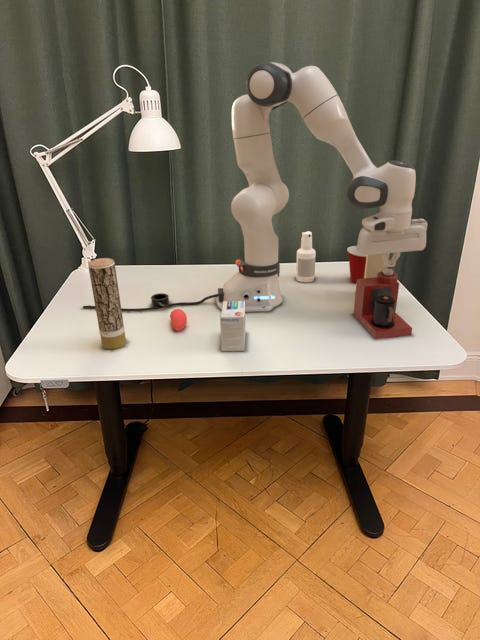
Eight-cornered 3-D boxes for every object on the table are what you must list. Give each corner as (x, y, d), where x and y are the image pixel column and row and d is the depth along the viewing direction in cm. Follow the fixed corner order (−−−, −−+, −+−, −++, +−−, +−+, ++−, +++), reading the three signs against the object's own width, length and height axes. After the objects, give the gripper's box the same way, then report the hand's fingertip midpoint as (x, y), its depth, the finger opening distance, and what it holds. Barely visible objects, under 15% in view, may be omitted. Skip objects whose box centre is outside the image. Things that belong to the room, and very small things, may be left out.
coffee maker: (360, 323, 148) (365, 280, 142) (353, 314, 153) (357, 273, 147) (395, 319, 149) (401, 277, 143) (387, 311, 155) (392, 270, 149)
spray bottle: (302, 284, 177) (304, 236, 169) (292, 278, 182) (293, 231, 174) (317, 280, 180) (320, 233, 171) (307, 274, 185) (309, 228, 177)
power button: (385, 278, 144) (385, 272, 143) (380, 274, 147) (381, 269, 146) (394, 277, 145) (395, 271, 144) (390, 273, 147) (390, 268, 146)
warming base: (375, 339, 139) (379, 304, 134) (360, 323, 148) (364, 290, 143) (411, 335, 140) (416, 300, 135) (394, 319, 149) (399, 286, 144)
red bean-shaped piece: (191, 323, 153) (184, 305, 152) (189, 326, 144) (180, 307, 143) (176, 330, 153) (168, 311, 152) (173, 333, 144) (164, 313, 144)
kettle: (380, 330, 138) (383, 304, 134) (367, 317, 145) (370, 292, 142) (398, 328, 138) (402, 302, 135) (385, 315, 146) (388, 290, 142)
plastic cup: (377, 286, 173) (381, 254, 168) (347, 286, 174) (350, 254, 168) (370, 275, 183) (374, 244, 178) (342, 275, 183) (344, 245, 178)
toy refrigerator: (385, 302, 161) (393, 241, 151) (363, 301, 162) (369, 240, 153) (384, 293, 168) (391, 234, 158) (362, 291, 169) (368, 233, 160)
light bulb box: (223, 333, 144) (222, 300, 139) (246, 333, 144) (245, 300, 139) (221, 351, 134) (219, 316, 129) (245, 351, 134) (244, 316, 129)
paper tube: (114, 352, 135) (100, 268, 124) (97, 346, 138) (82, 264, 127) (131, 342, 140) (119, 260, 129) (114, 336, 143) (101, 256, 132)
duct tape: (174, 298, 167) (174, 291, 166) (168, 311, 158) (168, 303, 157) (152, 298, 168) (151, 290, 166) (145, 310, 159) (144, 302, 157)
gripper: (422, 215, 142) (416, 259, 149) (356, 220, 139) (353, 265, 146) (434, 220, 137) (426, 266, 143) (365, 226, 134) (361, 272, 140)
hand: (389, 266), depth 144 cm, fingers closed
